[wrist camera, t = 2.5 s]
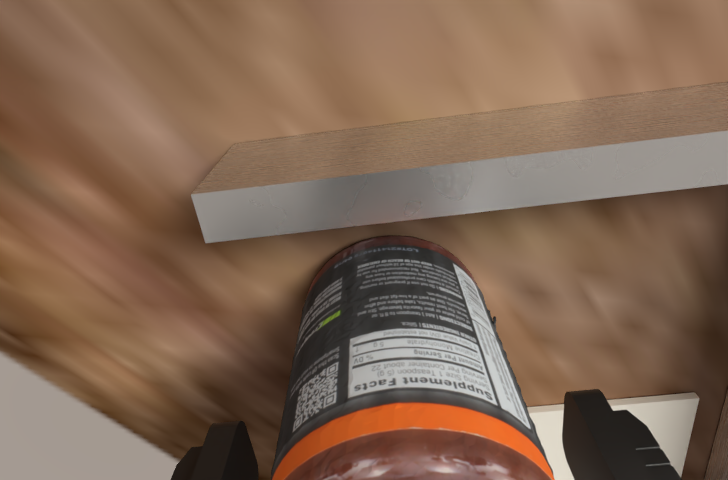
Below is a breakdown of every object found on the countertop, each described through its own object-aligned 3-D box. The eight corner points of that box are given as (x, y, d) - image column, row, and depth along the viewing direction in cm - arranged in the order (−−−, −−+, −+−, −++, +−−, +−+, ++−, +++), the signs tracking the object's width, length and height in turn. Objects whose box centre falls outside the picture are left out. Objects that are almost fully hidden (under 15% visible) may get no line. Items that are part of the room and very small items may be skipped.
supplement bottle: (442, 389, 19) (533, 860, 9) (287, 352, 18) (186, 821, 8) (509, 255, 16) (751, 702, 6) (331, 204, 15) (266, 620, 5)
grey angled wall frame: (234, 144, 14) (191, 194, 11) (858, 65, 13) (1035, 93, 10) (331, 535, 23) (324, 638, 19) (725, 505, 22) (796, 608, 18)
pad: (489, 410, 19) (491, 416, 19) (694, 392, 19) (699, 398, 18) (491, 534, 23) (493, 541, 22) (665, 521, 22) (669, 528, 22)
